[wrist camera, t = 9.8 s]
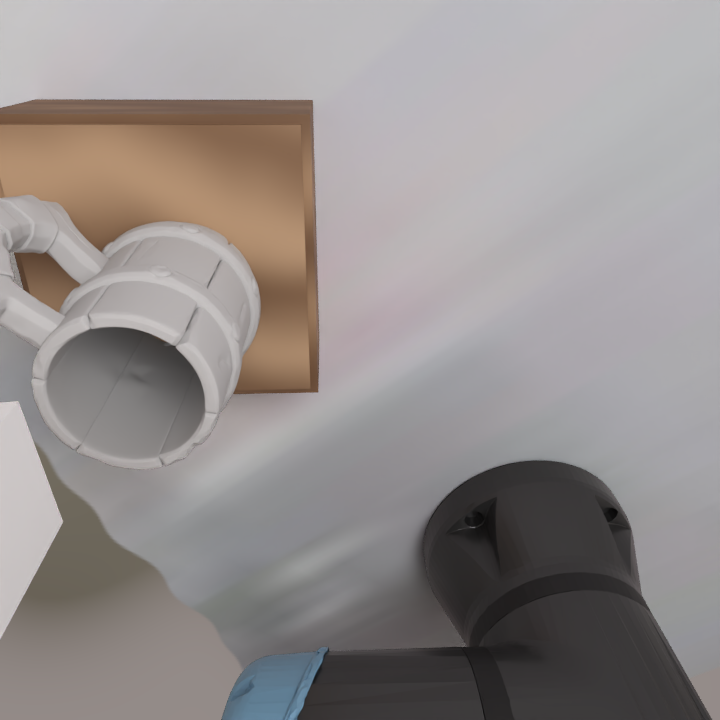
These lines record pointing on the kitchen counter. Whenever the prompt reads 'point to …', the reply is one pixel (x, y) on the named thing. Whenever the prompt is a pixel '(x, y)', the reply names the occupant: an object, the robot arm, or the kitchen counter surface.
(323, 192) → the kitchen counter surface
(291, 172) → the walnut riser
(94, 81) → the kitchen counter surface
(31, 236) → the mug
